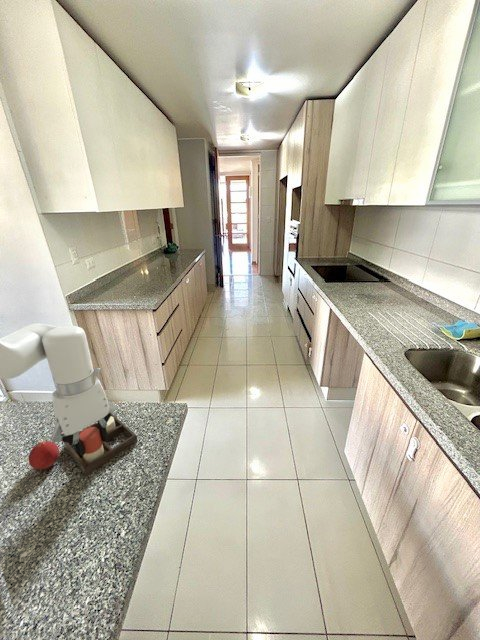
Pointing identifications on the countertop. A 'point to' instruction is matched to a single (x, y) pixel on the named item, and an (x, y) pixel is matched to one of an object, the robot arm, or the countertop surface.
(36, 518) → the countertop surface
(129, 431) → the divided brown tray
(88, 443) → the cylinder
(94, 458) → the cylinder
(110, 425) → the token
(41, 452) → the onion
